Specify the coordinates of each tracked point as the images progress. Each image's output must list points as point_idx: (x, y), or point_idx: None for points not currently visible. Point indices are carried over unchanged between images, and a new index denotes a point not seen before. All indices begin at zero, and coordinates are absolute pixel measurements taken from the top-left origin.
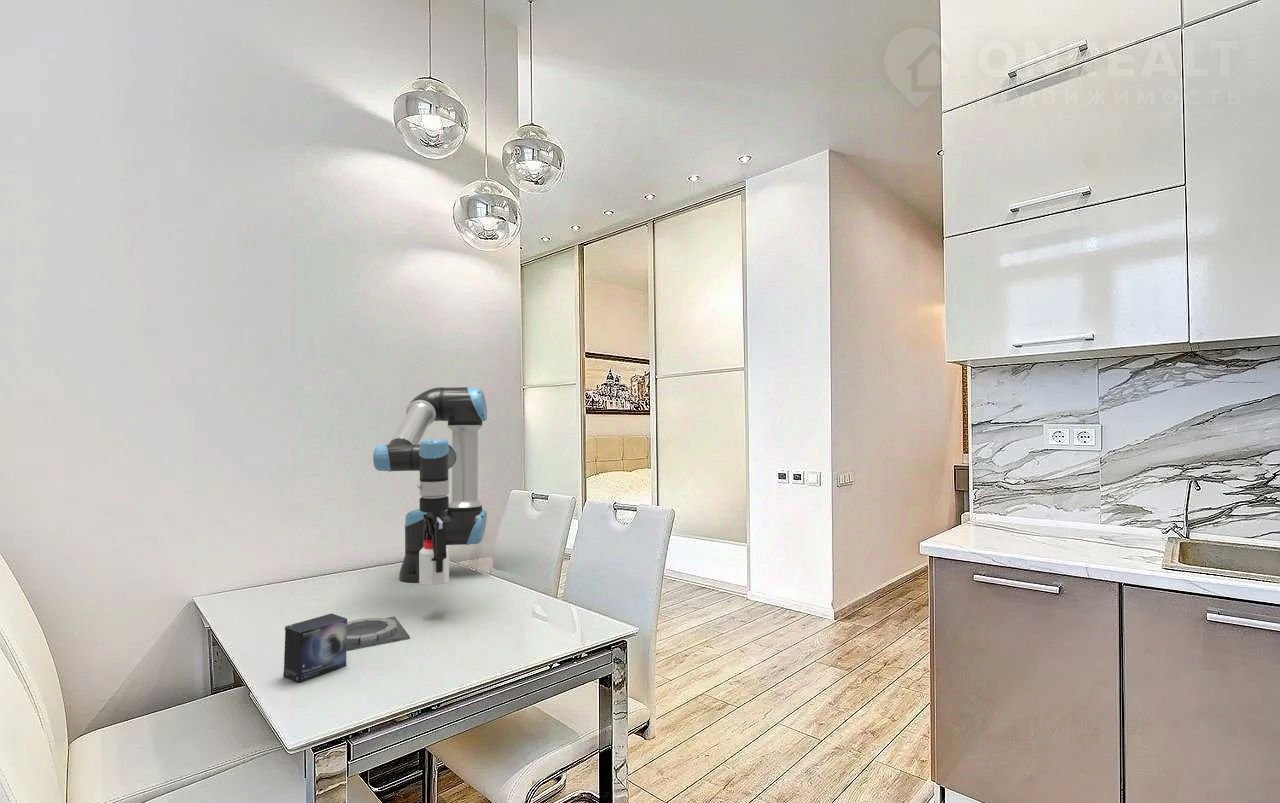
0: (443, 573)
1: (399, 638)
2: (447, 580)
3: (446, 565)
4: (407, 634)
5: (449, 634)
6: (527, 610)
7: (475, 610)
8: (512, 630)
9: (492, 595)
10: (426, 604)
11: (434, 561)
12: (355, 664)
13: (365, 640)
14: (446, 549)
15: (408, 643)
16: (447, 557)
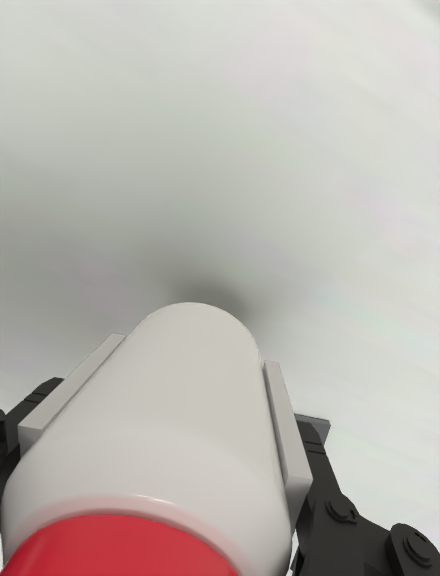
0: (288, 398)
1: (323, 443)
2: (248, 333)
3: (260, 390)
4: (314, 423)
5: (382, 345)
6: (394, 18)
7: (242, 184)
8: None
9: (111, 30)
10: (78, 274)
11: (290, 524)
12: None
13: None
14: (248, 500)
15: (356, 434)
16: (257, 422)
